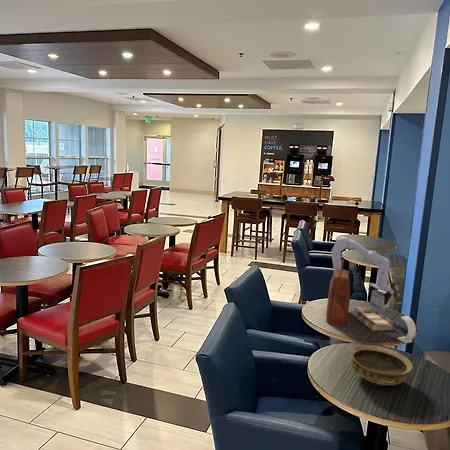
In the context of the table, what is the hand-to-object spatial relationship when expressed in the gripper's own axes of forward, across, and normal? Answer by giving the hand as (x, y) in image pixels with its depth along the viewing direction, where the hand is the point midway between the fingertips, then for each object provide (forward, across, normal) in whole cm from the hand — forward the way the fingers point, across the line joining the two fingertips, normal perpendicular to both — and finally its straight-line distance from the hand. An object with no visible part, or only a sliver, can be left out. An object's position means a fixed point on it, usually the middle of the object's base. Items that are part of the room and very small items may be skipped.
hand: (378, 302), depth 233 cm
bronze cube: (+7, -3, -3) cm, 8 cm away
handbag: (+10, -10, -24) cm, 28 cm away
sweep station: (+9, +1, -8) cm, 13 cm away
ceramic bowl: (+10, +40, -63) cm, 76 cm away
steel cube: (+7, -5, -8) cm, 12 cm away
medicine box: (+3, 0, 0) cm, 3 cm away
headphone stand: (+10, +26, -15) cm, 32 cm away
